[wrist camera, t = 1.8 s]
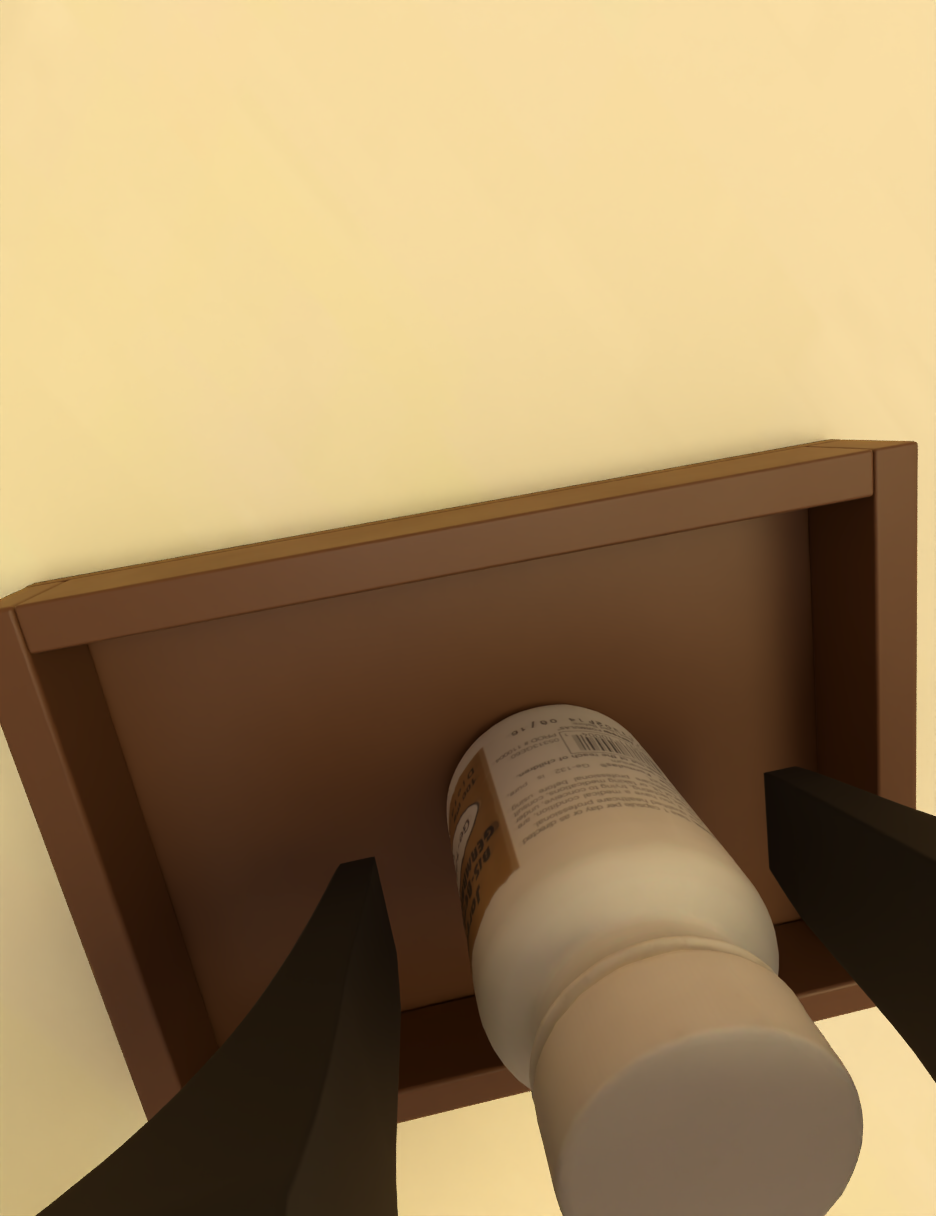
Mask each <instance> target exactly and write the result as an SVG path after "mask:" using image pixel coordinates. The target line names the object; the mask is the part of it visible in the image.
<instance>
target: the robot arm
mask: <svg viewBox="0 0 936 1216" xmlns="http://www.w3.org/2000/svg"><path fill="white" fill-rule="evenodd" d="M764 787H765V804H766V822H767V839H768V856H769V869H770V871H771V872H772V874H773V875H774V877H775V879H776V880H777V882H778V883H779V885H780V887H781V888H782V890H783V891H784V893H785V895H786V896H787V898H788V899H789V901H790V902H791V903H792V905H793V906H794V908H795V909H796V911H797V912H798V914H799V915H800V917H801V918H802V919H803V921H804V922H805V923H806V924H807V925H808V927H809V928H810V929H811V930H812V931H813V933H814V934H815V935H816V936H817V937H818V939H819V940H820V941H821V942H822V943H823V944H824V946H825V947H826V948H827V949H828V950H829V952H830V953H831V954H832V955H833V956H834V957H835V959H836V960H837V961H838V962H839V963H840V964H841V966H842V967H843V968H844V969H845V970H846V971H847V973H848V974H849V975H850V976H851V977H852V978H853V980H854V981H855V982H856V983H857V984H858V985H859V987H860V988H861V989H862V990H863V991H864V992H865V994H866V995H867V996H868V997H869V998H870V999H871V1001H872V1002H873V1003H874V1004H875V1005H876V1006H877V1008H878V1009H879V1010H880V1011H881V1012H882V1013H883V1015H884V1016H885V1017H886V1018H887V1019H888V1020H889V1022H890V1023H891V1024H892V1025H893V1026H894V1028H895V1029H896V1030H897V1031H898V1033H899V1034H900V1035H901V1036H902V1038H903V1039H904V1040H905V1041H906V1043H907V1044H908V1045H909V1046H910V1048H911V1049H912V1050H913V1052H914V1053H915V1054H916V1056H917V1057H918V1058H919V1060H920V1061H921V1063H922V1064H923V1065H924V1067H925V1068H926V1070H927V1071H928V1072H929V1074H930V1075H931V1077H932V1078H933V1080H934V1081H935V1082H936V816H933V815H930V814H927V813H924V812H921V811H919V810H916V809H913V808H910V807H908V806H905V805H902V804H899V803H897V802H894V801H891V800H889V799H886V798H883V797H881V796H878V795H875V794H873V793H870V792H867V791H865V790H862V789H859V788H857V787H854V786H852V785H849V784H846V783H844V782H841V781H838V780H836V779H833V778H830V777H827V776H825V775H822V774H819V773H816V772H813V771H810V770H807V769H804V768H800V767H797V766H793V767H789V768H784V769H779V770H775V771H770V772H765V773H764ZM400 1028H401V1002H400V987H399V974H398V961H397V951H396V947H395V943H394V938H393V934H392V930H391V925H390V921H389V917H388V912H387V908H386V904H385V899H384V895H383V890H382V886H381V882H380V877H379V873H378V869H377V864H376V860H375V856H374V857H369V858H364V859H360V860H355V861H351V862H346V863H341V864H340V865H339V866H338V868H337V869H336V871H335V872H334V874H333V876H332V878H331V880H330V882H329V884H328V886H327V888H326V890H325V892H324V894H323V896H322V898H321V900H320V901H319V903H318V905H317V907H316V909H315V911H314V912H313V914H312V916H311V918H310V920H309V921H308V923H307V925H306V926H305V928H304V930H303V931H302V933H301V935H300V937H299V938H298V940H297V942H296V943H295V945H294V947H293V948H292V950H291V952H290V953H289V955H288V956H287V958H286V959H285V961H284V962H283V964H282V965H281V967H280V968H279V970H278V971H277V973H276V974H275V976H274V977H273V979H272V980H271V982H270V983H269V985H268V986H267V988H266V989H265V991H264V992H263V994H262V995H261V996H260V998H259V999H258V1001H257V1002H256V1003H255V1005H254V1006H253V1007H252V1009H251V1010H250V1011H249V1013H248V1014H247V1015H246V1017H245V1018H244V1019H243V1020H242V1022H241V1023H240V1024H239V1025H238V1027H237V1028H236V1029H235V1030H234V1032H233V1033H232V1034H231V1035H230V1037H229V1038H228V1039H227V1040H226V1041H225V1042H224V1044H223V1045H222V1046H221V1047H220V1048H219V1049H218V1050H217V1051H216V1052H215V1053H214V1055H213V1056H212V1057H211V1058H210V1059H209V1060H208V1061H207V1062H206V1063H205V1064H204V1065H203V1066H202V1067H201V1069H200V1070H199V1071H198V1072H197V1073H196V1074H195V1075H194V1076H193V1077H192V1078H191V1079H190V1080H189V1081H188V1083H187V1084H186V1085H185V1086H184V1087H183V1088H182V1089H181V1090H180V1091H179V1092H178V1093H177V1094H176V1095H175V1096H174V1097H173V1098H172V1099H171V1100H170V1101H169V1102H168V1103H167V1104H166V1105H165V1106H164V1107H163V1108H162V1109H161V1110H160V1111H159V1112H158V1113H157V1114H156V1115H154V1116H153V1117H152V1118H151V1119H150V1120H149V1121H148V1122H147V1123H146V1124H145V1125H144V1126H143V1127H142V1128H140V1129H139V1130H138V1131H137V1132H136V1133H135V1134H134V1135H133V1136H132V1137H131V1138H129V1139H128V1140H127V1141H126V1142H125V1143H124V1144H123V1145H122V1146H121V1147H119V1148H118V1149H117V1150H116V1151H115V1152H114V1153H113V1154H111V1155H110V1156H109V1157H108V1158H107V1159H106V1160H104V1161H103V1162H102V1163H101V1164H100V1165H98V1166H97V1167H96V1168H95V1169H93V1170H92V1171H91V1172H90V1173H88V1174H87V1175H86V1176H85V1177H83V1178H82V1179H81V1180H80V1181H78V1182H77V1183H76V1184H75V1185H74V1186H72V1187H71V1188H70V1189H69V1190H67V1191H66V1192H65V1193H64V1194H62V1195H61V1196H60V1197H59V1198H57V1199H56V1200H55V1201H54V1202H53V1203H51V1204H50V1205H49V1206H48V1207H46V1208H45V1209H44V1210H42V1211H41V1212H40V1213H38V1214H37V1215H36V1216H398V1209H397V1189H396V1135H397V1109H398V1083H399V1057H400Z"/></svg>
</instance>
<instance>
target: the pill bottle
mask: <svg viewBox="0 0 936 1216" xmlns="http://www.w3.org/2000/svg"><path fill="white" fill-rule="evenodd" d="M447 824H448V831H449V836H450V841H451V849H452V854H453V859H454V865H455V871H456V875H457V886H458V891H459V896H460V902H461V908H462V916H463V925H464V929H465V933H466V939H467V944H468V955H469V959H470V966H471V975H472V980H473V985H474V991H475V996H476V1001H477V1005H478V1010H479V1015H480V1018H481V1022H482V1025H483V1028H484V1030H485V1032H486V1034H487V1037H488V1039H489V1041H490V1043H491V1045H492V1047H493V1049H494V1051H495V1052H496V1054H497V1055H498V1057H499V1058H500V1059H501V1061H502V1062H503V1064H504V1065H505V1066H506V1067H507V1069H508V1070H509V1071H510V1072H511V1073H512V1074H513V1075H514V1076H515V1077H516V1078H517V1079H518V1080H519V1081H520V1082H521V1083H523V1084H524V1085H525V1086H526V1087H528V1088H529V1089H531V1092H532V1098H533V1101H534V1104H535V1110H536V1115H537V1121H538V1125H539V1129H540V1133H541V1137H542V1141H543V1145H544V1149H545V1153H546V1157H547V1161H548V1166H549V1170H550V1174H551V1178H552V1182H553V1187H554V1191H555V1194H556V1198H557V1201H558V1204H559V1207H560V1210H561V1212H562V1214H563V1216H824V1215H825V1214H826V1213H827V1212H828V1211H829V1209H830V1208H831V1207H832V1206H833V1204H834V1203H835V1202H836V1201H837V1200H838V1199H839V1197H840V1196H841V1195H842V1193H843V1191H844V1189H845V1188H846V1186H847V1184H848V1182H849V1180H850V1178H851V1176H852V1174H853V1171H854V1169H855V1166H856V1163H857V1161H858V1157H859V1153H860V1149H861V1145H862V1135H863V1116H862V1109H861V1104H860V1100H859V1096H858V1092H857V1090H856V1087H855V1085H854V1083H853V1080H852V1078H851V1076H850V1074H849V1073H848V1071H847V1069H846V1068H845V1066H844V1065H843V1063H842V1061H841V1060H840V1059H839V1057H838V1056H837V1055H836V1053H835V1052H834V1051H833V1049H832V1048H831V1046H830V1045H829V1043H828V1042H827V1040H826V1039H825V1037H824V1036H823V1035H822V1033H821V1032H820V1030H819V1029H818V1028H817V1026H816V1025H815V1024H814V1022H813V1021H812V1019H811V1018H810V1017H809V1015H808V1014H807V1012H806V1011H805V1009H804V1007H803V1005H802V1004H801V1002H800V1001H799V999H798V998H797V997H796V995H795V994H794V992H793V991H792V990H791V989H790V988H789V987H788V986H787V985H786V983H785V982H784V981H783V980H781V979H780V978H779V977H778V971H779V952H778V946H777V940H776V934H775V930H774V927H773V923H772V920H771V917H770V915H769V913H768V910H767V908H766V906H765V904H764V902H763V900H762V898H761V897H760V895H759V893H758V892H757V890H756V888H755V887H754V885H753V884H752V883H751V882H750V880H749V879H748V878H747V876H746V875H745V874H744V873H743V871H742V870H741V869H740V868H739V866H738V865H737V864H736V862H735V861H734V860H733V858H732V857H731V856H730V855H729V854H728V852H727V851H726V850H725V849H724V848H723V846H722V845H721V844H720V843H719V841H718V840H717V839H716V838H715V837H714V835H713V834H712V833H711V832H710V830H709V829H708V828H707V827H706V825H705V824H704V823H703V822H702V821H701V819H700V818H699V817H698V816H697V814H696V813H695V812H694V811H693V809H692V808H691V807H690V806H689V804H688V803H687V802H686V801H685V799H684V798H683V797H682V796H681V795H680V793H679V792H678V791H677V790H676V788H675V787H674V786H673V785H672V783H671V782H670V781H669V780H668V778H667V777H666V776H665V775H664V773H663V772H662V771H661V770H660V768H659V767H658V766H657V764H656V763H655V762H654V761H653V759H652V758H651V757H650V756H649V754H648V753H647V752H646V751H645V750H644V749H643V747H642V746H641V745H640V744H639V742H638V741H637V740H636V739H635V738H634V737H633V736H632V734H631V733H629V732H628V731H627V730H626V729H625V728H624V727H622V726H621V725H620V724H618V723H617V722H616V721H614V720H612V719H611V718H609V717H607V716H605V715H603V714H601V713H599V712H596V711H593V710H590V709H587V708H583V707H579V706H573V705H567V704H561V705H547V706H541V707H536V708H532V709H528V710H525V711H521V712H519V713H516V714H514V715H512V716H509V717H507V718H505V719H504V720H502V721H500V722H499V723H497V724H495V725H494V726H492V727H491V728H490V729H489V730H488V731H486V732H485V733H484V734H483V735H481V736H480V737H479V738H478V739H477V740H476V741H475V742H474V743H473V744H472V745H471V747H470V748H469V749H468V750H467V752H466V753H465V755H464V756H463V758H462V759H461V761H460V762H459V764H458V766H457V768H456V770H455V772H454V775H453V777H452V780H451V783H450V786H449V791H448V796H447Z"/></svg>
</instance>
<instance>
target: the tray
mask: <svg viewBox="0 0 936 1216" xmlns="http://www.w3.org/2000/svg"><path fill="white" fill-rule="evenodd" d="M917 465H918V445H917V442H914V441H876V440H838V439H829V440H824V441H818V442H813V443H807V444H802V445H796V446H791V447H785V448H780V449H774V450H769V451H763V452H758V453H752V454H746V455H741V456H735V457H730V458H724V459H719V460H713V461H708V462H702V463H697V464H691V465H686V466H680V467H675V468H669V469H664V470H658V471H652V472H647V473H641V474H636V475H630V476H625V477H619V478H614V479H608V480H603V481H597V482H592V483H586V484H581V485H575V486H569V487H564V488H558V489H553V490H547V491H542V492H536V493H531V494H525V495H520V496H514V497H509V498H503V499H498V500H492V501H486V502H481V503H475V504H470V505H464V506H459V507H453V508H448V509H442V510H437V511H431V512H426V513H420V514H415V515H409V516H404V517H398V518H392V519H387V520H381V521H376V522H370V523H365V524H359V525H354V526H348V527H343V528H337V529H332V530H326V531H321V532H315V533H309V534H304V535H298V536H293V537H287V538H282V539H276V540H271V541H265V542H260V543H254V544H249V545H243V546H238V547H232V548H226V549H221V550H215V551H210V552H204V553H199V554H193V555H188V556H182V557H177V558H171V559H166V560H160V561H155V562H149V563H143V564H138V565H132V566H127V567H121V568H116V569H110V570H105V571H99V572H94V573H88V574H83V575H77V576H72V577H66V578H61V579H55V580H49V581H44V582H38V583H34V584H32V585H29V586H27V587H25V588H24V589H22V590H20V591H17V592H15V593H13V594H11V595H8V596H6V597H4V598H2V599H0V724H1V727H2V730H3V732H4V735H5V738H6V740H7V743H8V746H9V748H10V751H11V754H12V756H13V759H14V762H15V765H16V767H17V770H18V773H19V775H20V778H21V781H22V783H23V786H24V789H25V792H26V794H27V797H28V800H29V802H30V805H31V808H32V810H33V813H34V816H35V818H36V821H37V824H38V827H39V829H40V832H41V835H42V837H43V840H44V843H45V845H46V848H47V851H48V853H49V856H50V859H51V862H52V864H53V867H54V870H55V872H56V875H57V878H58V880H59V883H60V886H61V888H62V891H63V894H64V897H65V899H66V902H67V905H68V907H69V910H70V913H71V915H72V918H73V921H74V923H75V926H76V929H77V932H78V934H79V937H80V940H81V942H82V945H83V948H84V950H85V953H86V956H87V958H88V961H89V964H90V967H91V969H92V972H93V975H94V977H95V980H96V983H97V985H98V988H99V991H100V993H101V996H102V999H103V1002H104V1004H105V1007H106V1010H107V1012H108V1015H109V1018H110V1020H111V1023H112V1026H113V1028H114V1031H115V1034H116V1037H117V1039H118V1042H119V1045H120V1047H121V1050H122V1053H123V1055H124V1058H125V1061H126V1063H127V1066H128V1069H129V1072H130V1074H131V1077H132V1080H133V1082H134V1085H135V1088H136V1090H137V1093H138V1096H139V1098H140V1101H141V1104H142V1107H143V1109H144V1112H145V1115H146V1117H147V1120H148V1121H149V1120H150V1119H151V1118H152V1117H153V1116H154V1115H156V1114H157V1113H158V1112H159V1111H160V1110H161V1109H162V1108H163V1107H164V1106H165V1105H166V1104H167V1103H168V1102H169V1101H170V1100H171V1099H172V1098H173V1097H174V1096H175V1095H176V1094H177V1093H178V1092H179V1091H180V1090H181V1089H182V1088H183V1087H184V1086H185V1085H186V1084H187V1083H188V1081H189V1080H190V1079H191V1078H192V1077H193V1076H194V1075H195V1074H196V1073H197V1072H198V1071H199V1070H200V1069H201V1067H202V1066H203V1065H204V1064H205V1063H206V1062H207V1061H208V1060H209V1059H210V1058H211V1057H212V1056H213V1055H214V1053H215V1052H216V1051H217V1050H218V1049H219V1048H220V1047H221V1046H222V1045H223V1044H224V1042H225V1041H226V1040H227V1039H228V1038H229V1037H230V1035H231V1034H232V1033H233V1032H234V1030H235V1029H236V1028H237V1027H238V1025H239V1024H240V1023H241V1022H242V1020H243V1019H244V1018H245V1017H246V1015H247V1014H248V1013H249V1011H250V1010H251V1009H252V1007H253V1006H254V1005H255V1003H256V1002H257V1001H258V999H259V998H260V996H261V995H262V994H263V992H264V991H265V989H266V988H267V986H268V985H269V983H270V982H271V980H272V979H273V977H274V976H275V974H276V973H277V971H278V970H279V968H280V967H281V965H282V964H283V962H284V961H285V959H286V958H287V956H288V955H289V953H290V952H291V950H292V948H293V947H294V945H295V943H296V942H297V940H298V938H299V937H300V935H301V933H302V931H303V930H304V928H305V926H306V925H307V923H308V921H309V920H310V918H311V916H312V914H313V912H314V911H315V909H316V907H317V905H318V903H319V901H320V900H321V898H322V896H323V894H324V892H325V890H326V888H327V886H328V884H329V882H330V880H331V878H332V876H333V874H334V872H335V871H336V869H337V868H338V866H339V865H340V864H341V863H346V862H351V861H355V860H360V859H364V858H369V857H374V856H375V860H376V864H377V869H378V873H379V877H380V882H381V886H382V890H383V895H384V899H385V904H386V908H387V912H388V917H389V921H390V925H391V930H392V934H393V938H394V943H395V947H396V951H397V961H398V974H399V987H400V1002H401V1028H400V1057H399V1083H398V1109H397V1123H401V1122H405V1121H409V1120H413V1119H417V1118H421V1117H426V1116H430V1115H434V1114H438V1113H442V1112H446V1111H450V1110H454V1109H458V1108H462V1107H466V1106H471V1105H475V1104H479V1103H483V1102H487V1101H491V1100H495V1099H499V1098H503V1097H507V1096H511V1095H516V1094H520V1093H524V1092H528V1091H531V1089H529V1088H528V1087H526V1086H525V1085H524V1084H523V1083H521V1082H520V1081H519V1080H518V1079H517V1078H516V1077H515V1076H514V1075H513V1074H512V1073H511V1072H510V1071H509V1070H508V1069H507V1067H506V1066H505V1065H504V1064H503V1062H502V1061H501V1059H500V1058H499V1057H498V1055H497V1054H496V1052H495V1051H494V1049H493V1047H492V1045H491V1043H490V1041H489V1039H488V1037H487V1034H486V1032H485V1030H484V1028H483V1025H482V1022H481V1018H480V1015H479V1010H478V1005H477V1001H476V996H475V991H474V985H473V980H472V975H471V966H470V959H469V955H468V944H467V939H466V933H465V929H464V925H463V916H462V908H461V902H460V896H459V891H458V886H457V875H456V871H455V865H454V859H453V854H452V849H451V841H450V836H449V831H448V824H447V796H448V791H449V786H450V783H451V780H452V777H453V775H454V772H455V770H456V768H457V766H458V764H459V762H460V761H461V759H462V758H463V756H464V755H465V753H466V752H467V750H468V749H469V748H470V747H471V745H472V744H473V743H474V742H475V741H476V740H477V739H478V738H479V737H480V736H481V735H483V734H484V733H485V732H486V731H488V730H489V729H490V728H491V727H492V726H494V725H495V724H497V723H499V722H500V721H502V720H504V719H505V718H507V717H509V716H512V715H514V714H516V713H519V712H521V711H525V710H528V709H532V708H536V707H541V706H547V705H561V704H567V705H573V706H579V707H583V708H587V709H590V710H593V711H596V712H599V713H601V714H603V715H605V716H607V717H609V718H611V719H612V720H614V721H616V722H617V723H618V724H620V725H621V726H622V727H624V728H625V729H626V730H627V731H628V732H629V733H631V734H632V736H633V737H634V738H635V739H636V740H637V741H638V742H639V744H640V745H641V746H642V747H643V749H644V750H645V751H646V752H647V753H648V754H649V756H650V757H651V758H652V759H653V761H654V762H655V763H656V764H657V766H658V767H659V768H660V770H661V771H662V772H663V773H664V775H665V776H666V777H667V778H668V780H669V781H670V782H671V783H672V785H673V786H674V787H675V788H676V790H677V791H678V792H679V793H680V795H681V796H682V797H683V798H684V799H685V801H686V802H687V803H688V804H689V806H690V807H691V808H692V809H693V811H694V812H695V813H696V814H697V816H698V817H699V818H700V819H701V821H702V822H703V823H704V824H705V825H706V827H707V828H708V829H709V830H710V832H711V833H712V834H713V835H714V837H715V838H716V839H717V840H718V841H719V843H720V844H721V845H722V846H723V848H724V849H725V850H726V851H727V852H728V854H729V855H730V856H731V857H732V858H733V860H734V861H735V862H736V864H737V865H738V866H739V868H740V869H741V870H742V871H743V873H744V874H745V875H746V876H747V878H748V879H749V880H750V882H751V883H752V884H753V885H754V887H755V888H756V890H757V892H758V893H759V895H760V897H761V898H762V900H763V902H764V904H765V906H766V908H767V910H768V913H769V915H770V917H771V920H772V923H773V927H774V930H775V934H776V940H777V946H778V952H779V971H778V977H779V978H780V979H781V980H783V981H784V982H785V983H786V985H787V986H788V987H789V988H790V989H791V990H792V991H793V992H794V994H795V995H796V997H797V998H798V999H799V1001H800V1002H801V1004H802V1005H803V1007H804V1009H805V1011H806V1012H807V1014H808V1015H809V1017H810V1018H811V1019H812V1021H813V1022H815V1021H819V1020H823V1019H827V1018H831V1017H835V1016H839V1015H843V1014H847V1013H851V1012H855V1011H860V1010H864V1009H868V1008H872V1007H876V1005H875V1004H874V1003H873V1002H872V1001H871V999H870V998H869V997H868V996H867V995H866V994H865V992H864V991H863V990H862V989H861V988H860V987H859V985H858V984H857V983H856V982H855V981H854V980H853V978H852V977H851V976H850V975H849V974H848V973H847V971H846V970H845V969H844V968H843V967H842V966H841V964H840V963H839V962H838V961H837V960H836V959H835V957H834V956H833V955H832V954H831V953H830V952H829V950H828V949H827V948H826V947H825V946H824V944H823V943H822V942H821V941H820V940H819V939H818V937H817V936H816V935H815V934H814V933H813V931H812V930H811V929H810V928H809V927H808V925H807V924H806V923H805V922H804V921H803V919H802V918H801V917H800V915H799V914H798V912H797V911H796V909H795V908H794V906H793V905H792V903H791V902H790V901H789V899H788V898H787V896H786V895H785V893H784V891H783V890H782V888H781V887H780V885H779V883H778V882H777V880H776V879H775V877H774V875H773V874H772V872H771V871H770V869H769V856H768V839H767V822H766V804H765V787H764V773H765V772H770V771H775V770H779V769H784V768H789V767H793V766H797V767H800V768H804V769H807V770H810V771H813V772H816V773H819V774H822V775H825V776H827V777H830V778H833V779H836V780H838V781H841V782H844V783H846V784H849V785H852V786H854V787H857V788H859V789H862V790H865V791H867V792H870V793H873V794H875V795H878V796H881V797H883V798H886V799H889V800H891V801H894V802H897V803H899V804H902V805H905V806H908V807H910V808H913V809H916V680H917Z"/></svg>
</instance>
